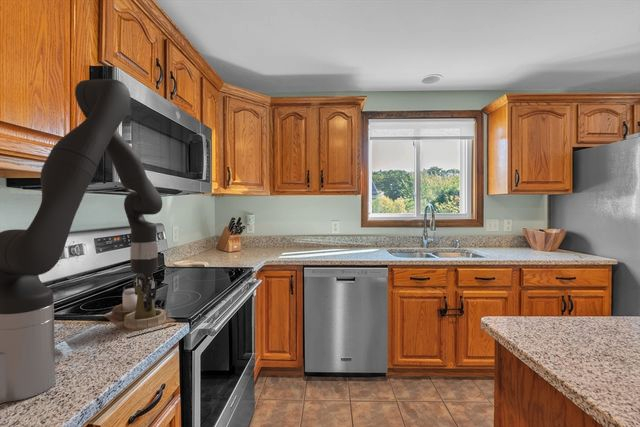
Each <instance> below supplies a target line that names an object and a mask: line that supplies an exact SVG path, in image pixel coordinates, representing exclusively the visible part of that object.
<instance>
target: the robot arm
mask: <svg viewBox="0 0 640 427" xmlns="http://www.w3.org/2000/svg"><path fill="white" fill-rule="evenodd" d="M74 97H75V100H76V103H77V106H78V107H79V109H80V110H81V112H82V114H83V116H84V117H85V120H83V121H82V122H81V123H79V125H77V126H75V128H73V129H72V130H70V131H69V132H68V133H66V134H65V135H64V136H63V137H62V138H61V139H59V140H58V141H57V142H56V143H55V145H53V147H52V149H51V150H50V152H49V154H48V156H47V158H46V159H45V161H44V163H43V165H42V168H41V170H40V187H41V202H40V206H39V209H38V210H37V212H36V214H35V215H34V218H33V219H32V221H31V223H30V225H29V226H28V227H27V229H22V228H21V229H6V230H2V231H0V404H3V403H7V402H14V401H15V402H16V401H21V400H25V399H29V398H32V397H34V396H36V395H40V394H42V393H44V392H45V391H48V390H49V389H51V388H52V387H53V386H54V385H55V384H56V380H57V379H56V373H57V372H56V345H55V344H56V341H55V338H56V337H55V307H54V304H55V303H54V302H55V301H54V292H53V290H52V289H51V288H49V287H48V286H46V285H45V284H44V283H43V282H42V281H41V279H40V278H39V276H41V275H45V274H46V273H48V272H50V271H51V270H53V268H54V267H55V266H56V265H57V264H58V263H59V261H60V259H61V257H62V255H63V252H64V250H65V248H66V244H67V240H68V238H69V234H70V232H71V229H72V226H73V222H74V219H75V216H76V215H77V212H78V209H79V208H80V205H81V203H82V201H83V198H84V196H85V194H86V191H87V190H88V188H89V185H90V184H91V182H92V180H93V178H94V176H95V173H96V171H97V169H98V167H99V165H100V163H101V159H102V158H103V155H104V153H105V152H107V155H108V157H109V158H110V160H111V162H112V164H113V166H114V170H115V171H116V174H117V176H118V179H119V180H120V181H119V182H120V183H121V185H122V187H123V188H125V189H127V190H131V191H132V192H129V193H128V194H127V195H126V196H125V198H124V200H123V209H124V212H125V215H126V218H127V221H128V225H129V227H130V272H131V273H132V274H136V276H132V281H133V288H134V290H135V295H137V296H138V294H137V293H136V286H137V285H138V284H139V285H140V286H141V293H142V294H143V300H144V310H145V308H146V312H148V311H151V310H152V300H153V299H154V300H156V296H157V291H158V281H155V280H154V274H153V273H154V272H157V271H158V270H159V254H158V253H159V252H158V250H159V249H158V242H157V241H158V240H157V238H158V237H157V236H158V235H157V234H158V232H157V224H156V223H154V222H150V221H147V220H146V218H145V216H148V215H150V216H151V215H152V216H153V215H157V214H159V213H160V212H161V210H162V208H163V198H162V196H161V193H159V191H158V190H157V189H156V187H155V185H154V184H153V183H152V182H151V180H150V179H149V178H148V175H147V172H146V170H145V168H144V165H143V162H142V160H141V158H140V156H139V154H138V152H137V151H136V150H135V149H134V148H133V147H132V146H131V145H130V144H129V142H128V141H126V140H125V139H124V138H123V136H122V135H121V134H120V133H119V131H117V129H118V128H119V126H120V125H121V124H122V122H123V120H124V119H125V118H126V116H127V114H128V112H129V110H130V106H131V102H132V101H131V98H132V97H131V92H130V90H129V88H128V87H127V85H126V84H125V83H123V82H122V81H120V80H118V79H113V78H100V79H99V78H98V79H84V80H81V81H79V82H78V83H77V84H76V86H75V87H74ZM144 215H145V216H144ZM144 288H147V291H144ZM149 294H150V296H149ZM148 308H149V309H148Z"/></svg>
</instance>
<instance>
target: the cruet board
mask: <svg viewBox="0 0 640 427" xmlns="http://www.w3.org/2000/svg"><path fill="white" fill-rule="evenodd" d="M111 311H112V312H111V313H108V314H103V317H105V318H106V319H107V320H109V321H110V322H111V323H113V324H114V325H115V326H116V327H118V328H119V329H120V330H122V331H123V332H124V333H126V334H127V335H129V334H132V333H135V332H139V331H144V330H147V329H150V328H155V327H158V326H163V325H165V324H167V326H164V327H160V328H157V329H153V330H149V331H146V332H141V333H139V334H134V335H131V336H127V337H125V338H126V339H127V340H128V339H131V338H135V337H139V336H143V335H146V334H151V333H154V332H158V331H162V330H165V329H168V328H169V329H170V328H172V327H176V326H177V323H175V324H172V325H168V324H170V323H173V322H176V321H177V320H176V319H174V318H172V317H170V316H168V315H166V314H167V313H166V310H164V309H162V308H155V312H156V317H152V318H148V319H135V312H136V310H131V311H123V303H122V304H119V305H116V306H114V307H113V308H112V309H111Z"/></svg>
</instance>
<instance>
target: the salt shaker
mask: <svg viewBox="0 0 640 427" xmlns="http://www.w3.org/2000/svg"><path fill="white" fill-rule="evenodd" d="M122 304H123V311H131V310H136V304H137V295H135V290H134V287H131V288H126V289H123V292H122Z"/></svg>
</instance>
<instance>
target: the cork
mask: <svg viewBox="0 0 640 427" xmlns="http://www.w3.org/2000/svg"><path fill="white" fill-rule="evenodd" d="M144 291H147V288H144ZM136 293H137V294H138V296H137V304H136V312H135V319H148V318H152V317H156V312H155V309H156V307H155V299H153V300H152V310H151V311H148V312H146V308H145V310H144V300H143V294H142V293H141V286H140V285H139V284H138V285H137V286H136ZM149 296H150V294H149ZM148 309H149V308H148Z"/></svg>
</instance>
